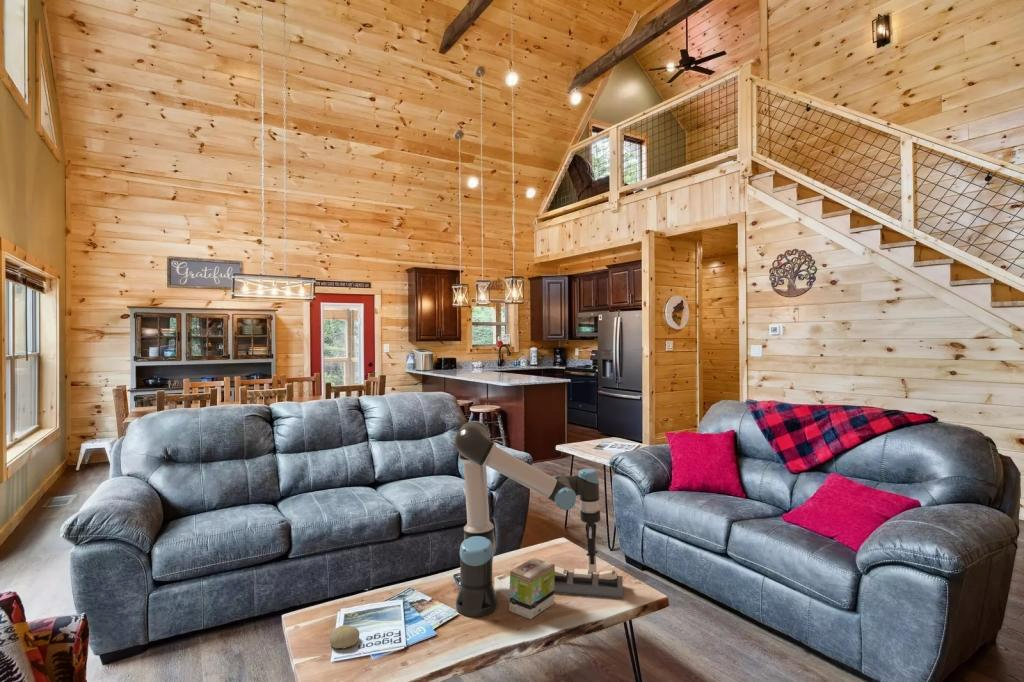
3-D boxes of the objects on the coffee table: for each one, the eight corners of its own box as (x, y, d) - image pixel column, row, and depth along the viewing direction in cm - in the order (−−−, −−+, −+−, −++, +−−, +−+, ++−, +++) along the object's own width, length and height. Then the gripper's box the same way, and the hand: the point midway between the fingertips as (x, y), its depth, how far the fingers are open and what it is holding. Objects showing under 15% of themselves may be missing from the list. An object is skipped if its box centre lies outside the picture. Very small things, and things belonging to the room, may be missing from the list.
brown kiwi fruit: (346, 625, 182) (356, 613, 178) (356, 647, 178) (367, 636, 174) (322, 637, 174) (331, 625, 171) (332, 661, 171) (342, 649, 167)
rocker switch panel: (542, 592, 207) (542, 577, 207) (546, 580, 217) (546, 566, 217) (622, 598, 202) (622, 583, 201) (622, 586, 211) (622, 572, 211)
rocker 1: (549, 573, 210) (550, 569, 209) (550, 568, 214) (551, 564, 214) (565, 579, 208) (566, 574, 208) (566, 573, 213) (567, 569, 213)
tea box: (531, 620, 187) (531, 578, 187) (508, 611, 193) (508, 570, 193) (555, 603, 199) (555, 563, 199) (533, 595, 205) (532, 556, 205)
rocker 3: (599, 581, 206) (598, 577, 206) (600, 576, 210) (599, 572, 210) (616, 578, 205) (615, 574, 205) (616, 573, 209) (615, 569, 209)
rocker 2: (573, 577, 208) (574, 573, 208) (574, 572, 212) (574, 568, 212) (591, 579, 206) (591, 574, 206) (591, 574, 211) (591, 569, 211)
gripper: (599, 516, 201) (602, 579, 201) (600, 504, 214) (603, 564, 214) (579, 515, 203) (581, 578, 203) (581, 504, 215) (584, 563, 216)
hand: (592, 571), depth 209 cm, fingers closed
